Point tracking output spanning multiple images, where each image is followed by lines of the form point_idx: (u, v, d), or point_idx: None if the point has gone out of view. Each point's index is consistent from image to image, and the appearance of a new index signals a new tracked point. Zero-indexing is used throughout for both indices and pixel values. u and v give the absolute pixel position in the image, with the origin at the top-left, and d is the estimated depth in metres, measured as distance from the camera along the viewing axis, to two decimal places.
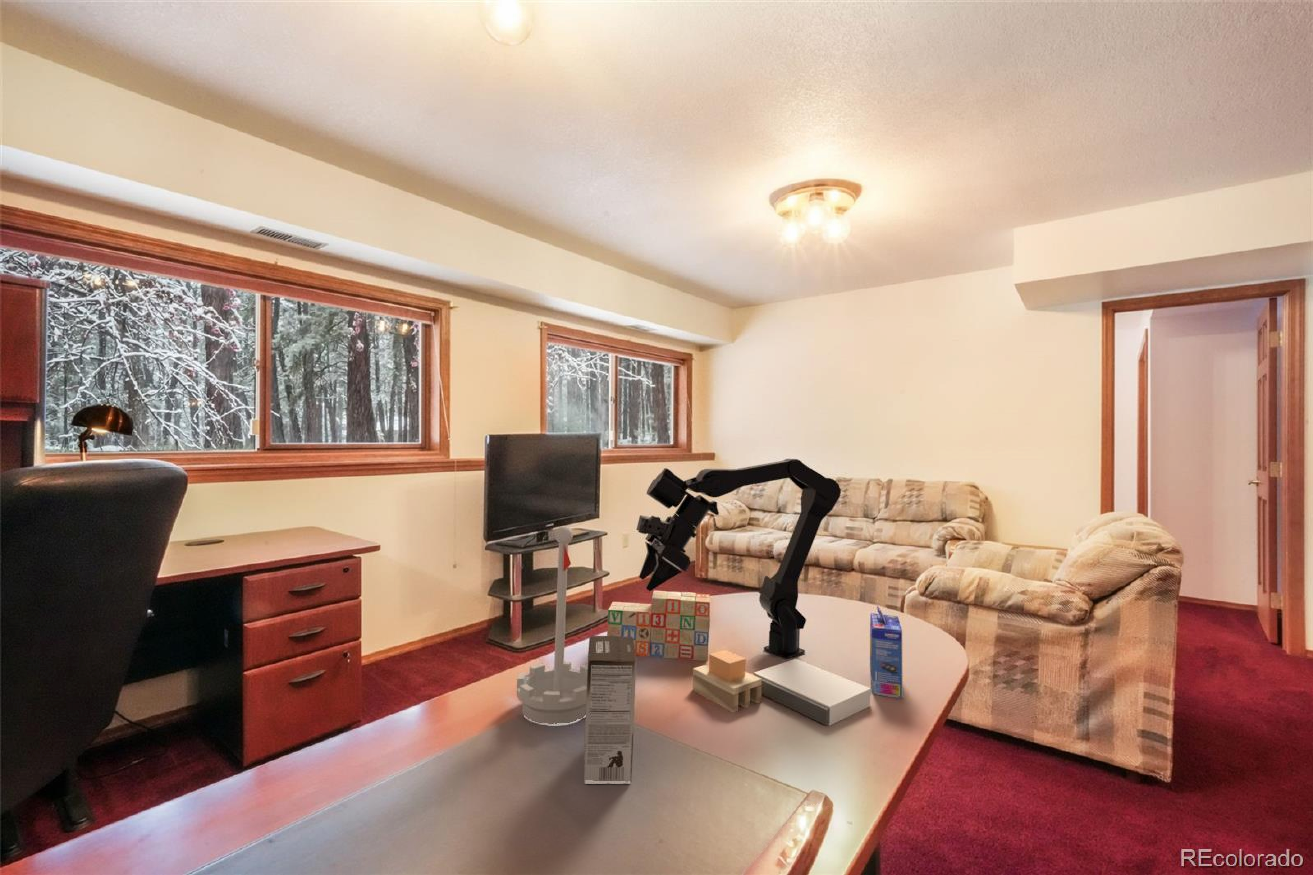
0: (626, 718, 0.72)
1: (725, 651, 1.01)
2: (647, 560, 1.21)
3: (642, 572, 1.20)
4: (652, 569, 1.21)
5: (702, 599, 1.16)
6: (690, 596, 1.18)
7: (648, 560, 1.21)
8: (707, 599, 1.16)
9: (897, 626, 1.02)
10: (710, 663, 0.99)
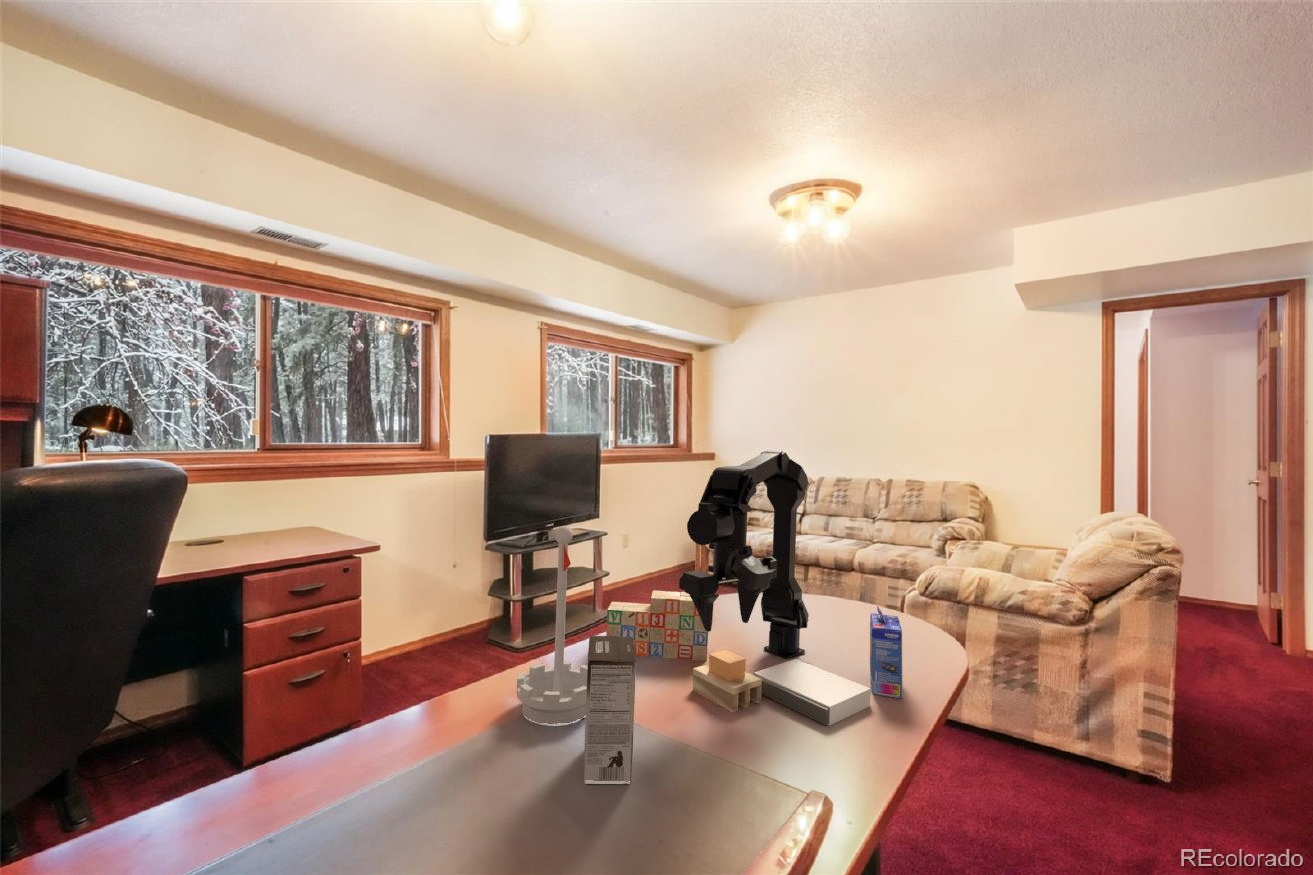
0: (625, 718, 0.72)
1: (725, 651, 1.01)
2: None
3: None
4: None
5: None
6: (689, 596, 1.18)
7: None
8: None
9: (897, 626, 1.02)
10: (710, 663, 0.99)
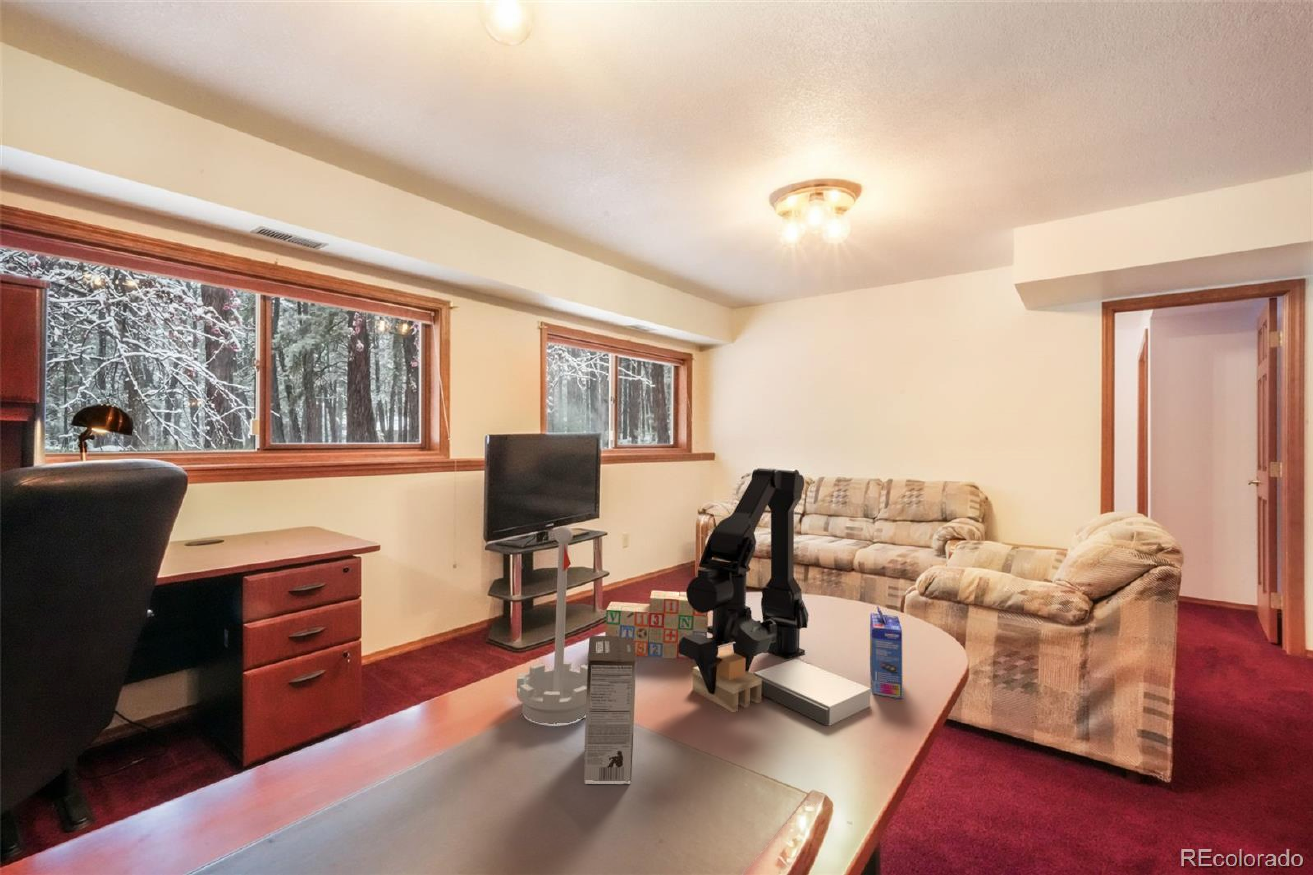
0: (626, 718, 0.72)
1: (725, 650, 1.01)
2: None
3: None
4: None
5: None
6: None
7: None
8: None
9: (897, 626, 1.02)
10: None
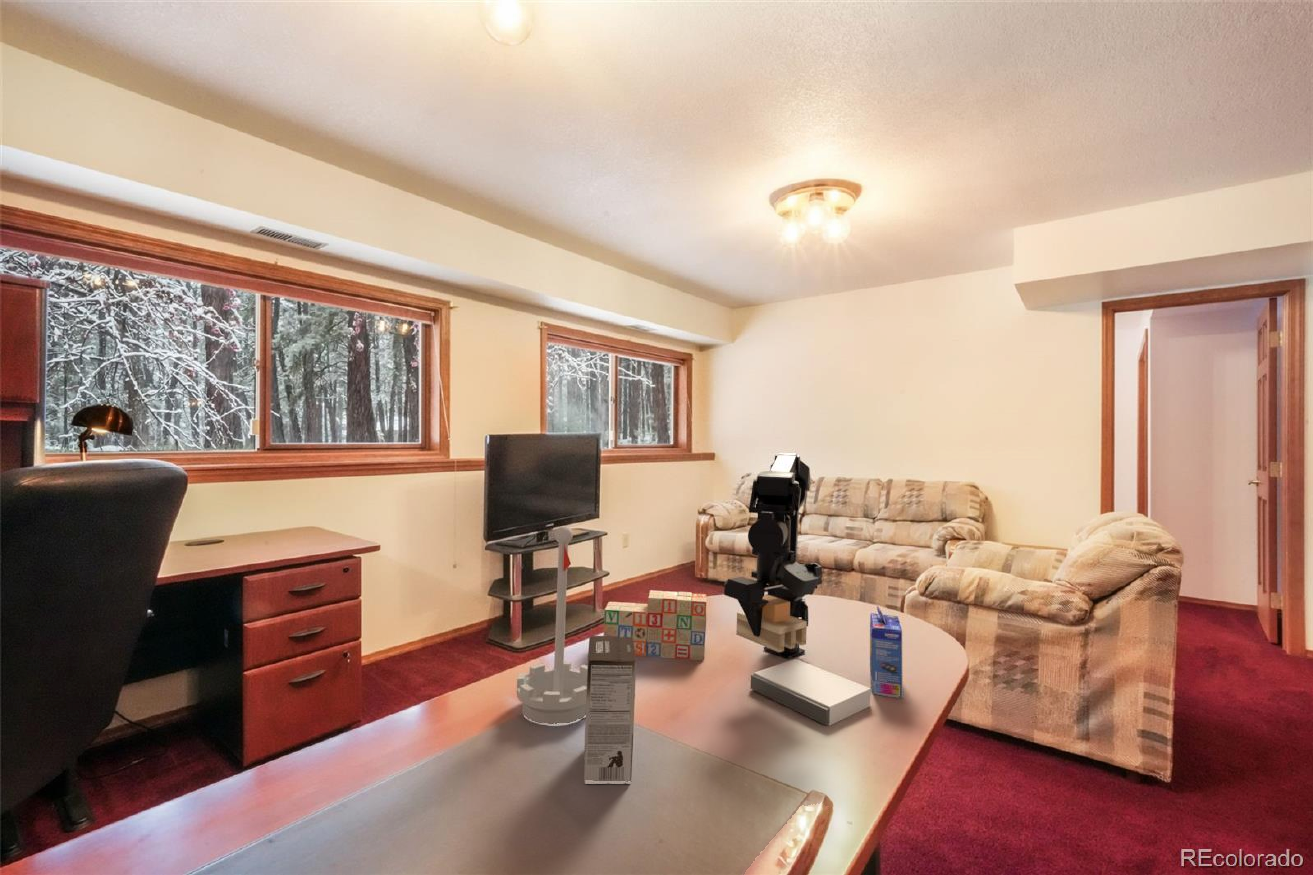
0: (626, 718, 0.72)
1: (768, 596, 1.01)
2: None
3: None
4: None
5: (698, 599, 1.17)
6: (686, 596, 1.18)
7: None
8: (703, 599, 1.17)
9: (897, 626, 1.02)
10: None
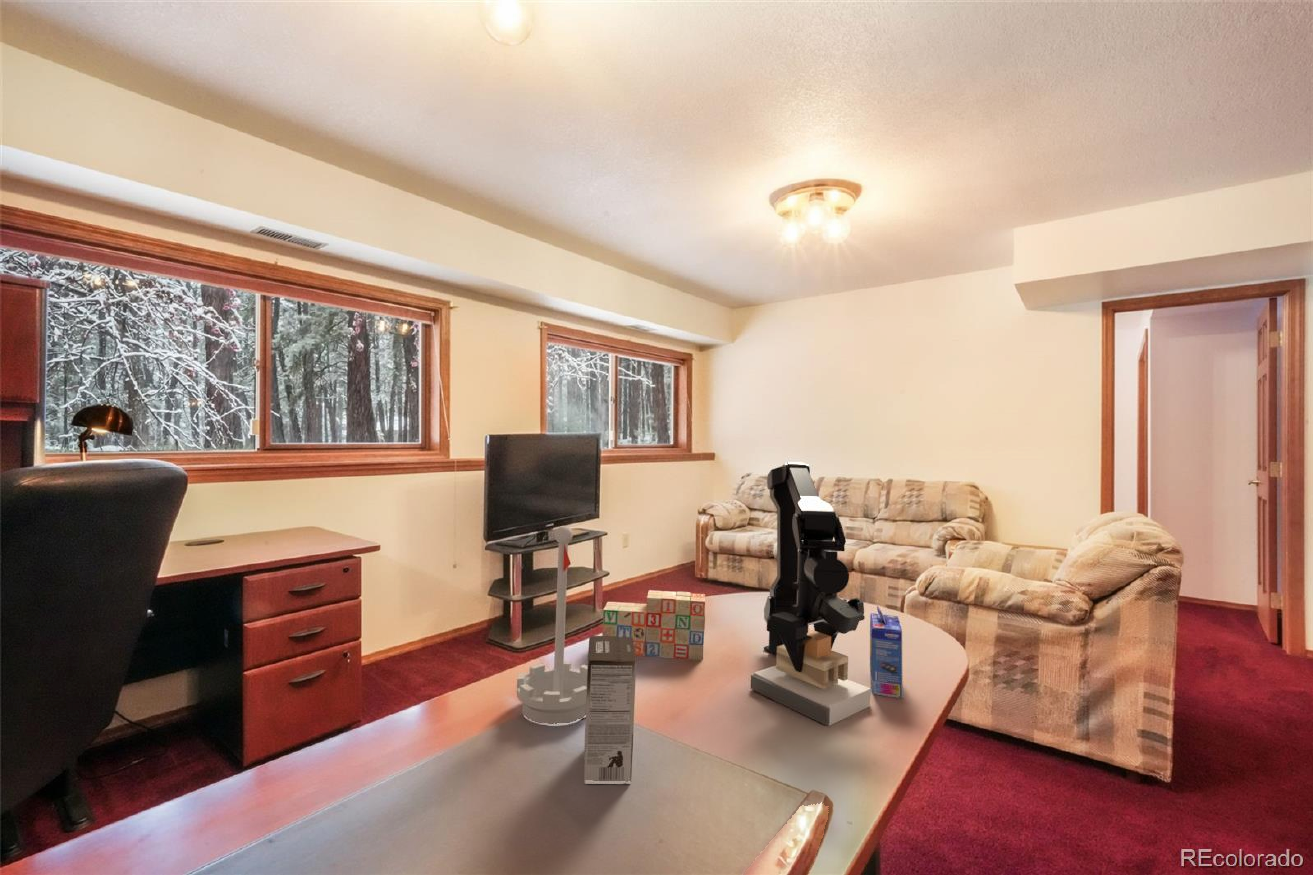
0: (625, 718, 0.72)
1: (808, 629, 1.01)
2: None
3: None
4: None
5: (697, 599, 1.17)
6: (685, 596, 1.18)
7: None
8: (702, 598, 1.17)
9: (897, 626, 1.02)
10: None
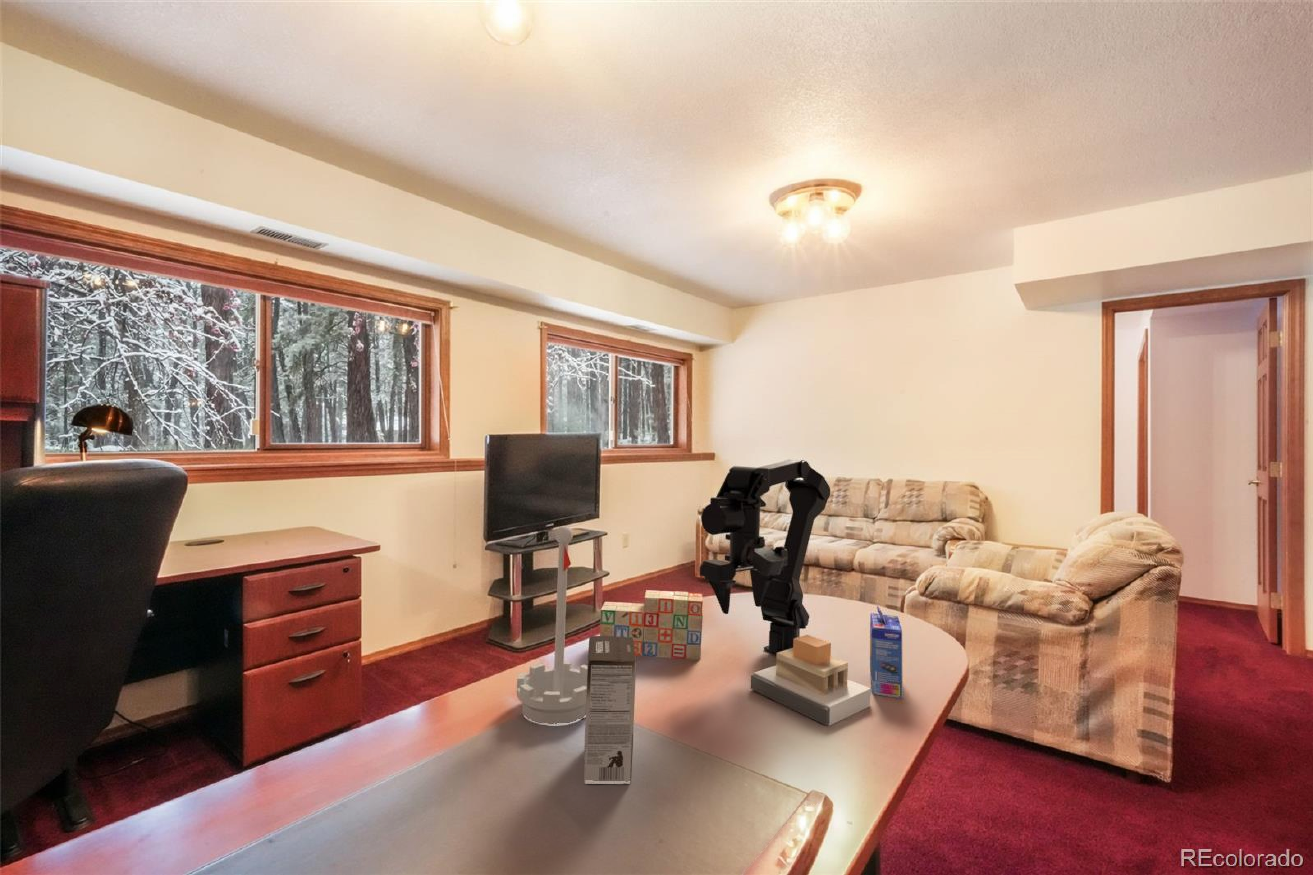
0: (625, 718, 0.72)
1: (808, 636, 1.01)
2: None
3: None
4: None
5: (695, 598, 1.17)
6: (683, 595, 1.18)
7: None
8: (700, 598, 1.17)
9: (897, 626, 1.02)
10: (794, 647, 0.99)
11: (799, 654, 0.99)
